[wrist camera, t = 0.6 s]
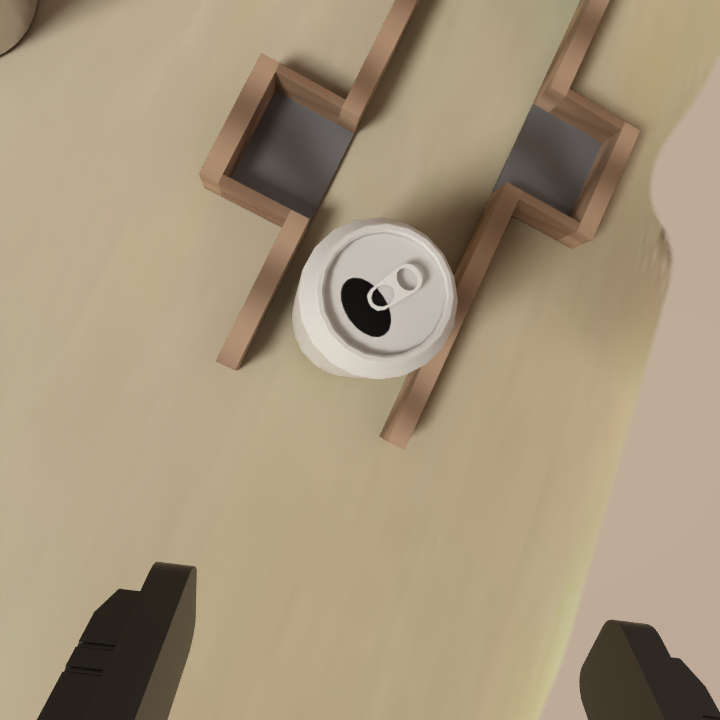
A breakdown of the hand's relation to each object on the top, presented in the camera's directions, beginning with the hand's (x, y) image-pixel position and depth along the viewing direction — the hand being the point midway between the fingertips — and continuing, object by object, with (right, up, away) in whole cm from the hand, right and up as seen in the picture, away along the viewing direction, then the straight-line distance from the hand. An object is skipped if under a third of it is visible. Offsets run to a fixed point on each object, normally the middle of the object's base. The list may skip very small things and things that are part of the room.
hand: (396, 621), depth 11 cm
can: (-1, +8, +25) cm, 26 cm away
